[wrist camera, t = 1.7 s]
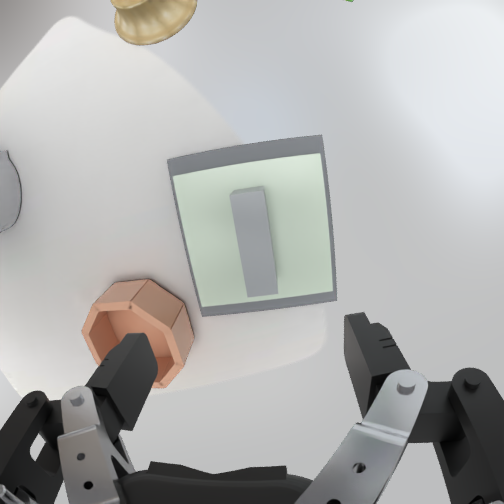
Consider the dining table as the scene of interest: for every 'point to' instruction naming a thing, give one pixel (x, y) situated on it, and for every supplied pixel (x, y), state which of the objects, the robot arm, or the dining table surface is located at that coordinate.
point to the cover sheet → (286, 225)
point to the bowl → (141, 325)
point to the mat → (250, 155)
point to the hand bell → (151, 19)
